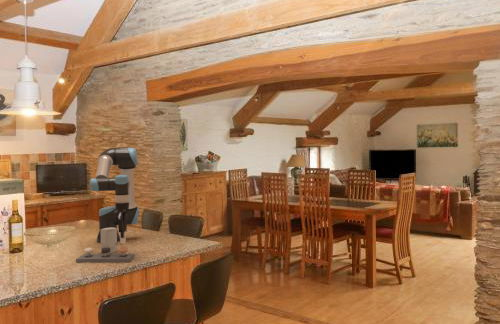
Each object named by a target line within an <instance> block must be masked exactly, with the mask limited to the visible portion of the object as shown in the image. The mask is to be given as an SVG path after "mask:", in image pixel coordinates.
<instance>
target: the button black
mask: <svg viewBox="0 0 500 324" xmlns="http://www.w3.org/2000/svg"><path fill="white" fill-rule="evenodd" d="M101 250H102V253H101V254H104V257H108V252H110V248H108V247H107V248H102V249H101V248H100V251H101Z"/></svg>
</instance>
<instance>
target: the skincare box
mask: <svg viewBox="0 0 500 324" xmlns="http://www.w3.org/2000/svg"><path fill="white" fill-rule="evenodd" d="M100 230H101V243H100V254H103V253H102V250H101V249H102V248H107V247H108V248H110V252H108V254H114V253H116V252H118V241H117V230H118V227H117V228H111V227H110V228H104V229H100Z"/></svg>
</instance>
